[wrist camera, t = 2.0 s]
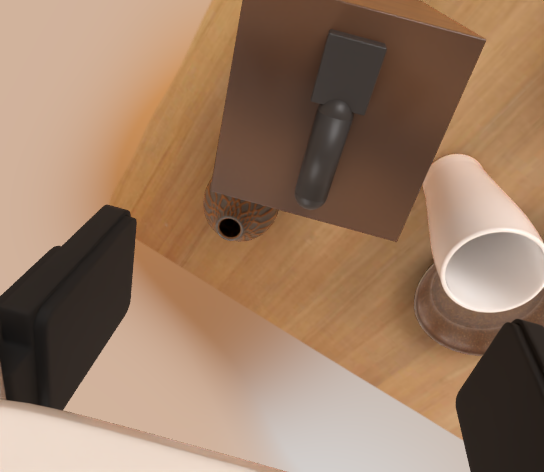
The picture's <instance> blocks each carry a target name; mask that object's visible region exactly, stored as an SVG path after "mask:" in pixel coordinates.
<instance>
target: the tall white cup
mask: <svg viewBox="0 0 544 472" xmlns="http://www.w3.org/2000/svg"><path fill="white" fill-rule="evenodd" d="M423 191H424V195H425V199H426V207H427V216H428V226H429V236H430V244H431V250H432V255H433V259H434V263H435V266H436V269H437V273H438V275H439V278H440V281H441V283H442V286H443V289H444V291H445V292H446V294H447V295H448V296H449V297H450V298H451V299H452V300H453V301H454V302H455V303H457V304H458V305H460V306H462V307H464V308H466V309H469V310H472V311H477V312H485V313H494V312H502V311H507V310H511V309H514V308H517V307H519V306H521V305H523V304H525V303H527V302H528V301H530V300H531V299H533V298H534V297H535V296H536V295H537V294H538V293H539V292H540V291H541V290H542V289H543V288H544V242H543V240H542V238H541V237H540V235H539V233H538V232H537V230H536V229H535V227H534V226H533V224H532V223H531V221H530V220H529V218H528V217H527V216H526V215H525V213H524V212H523V211H522V210H521V209H520V208H519V207H518V205H517V204H516V203H515V202H514V201H513V200H512V199H511V198H510V197H509V196H508V195H507V194H506V193H505V192H504V191H503V190H502V189H501V188H500V187H499V186H498V184H497V183H496V182H495V181H494V180H493V179H492V178H491V177H490V176H489V175H488V174H487V173H486V172H485V170H484V168H483V167H482V165H481V164H480V163H479V162H478V161H477V160H475V159H474V158H472V157H470V156H468V155H464V154H450V155H446V156H444V157H441V158H439V159H438V160H436V161H435V162H434V163H433V164H431V166H430V168H429V171H428V173H427V175H426V177H425V180H424V182H423Z"/></svg>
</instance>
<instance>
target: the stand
mask: <svg viewBox="0 0 544 472" xmlns="http://www.w3.org/2000/svg"><path fill="white" fill-rule="evenodd" d="M330 29H333V30H337V31H340V32H344V33H348V34H352V35H355V36H359V37H363V38H367V39H370V40H374V41H378V42H381V43H384V44H385V45H386V47H387V51H386V54H385V57H384V60H383V63H382V66H381V69H380V72H379V75H378V78H377V81H376V84H375V86H374V89H373V92H372V95H371V98H370V101H369V104H368V107H367V110H366V113H365V115H359V114H355V113H354V117H353V120H352V124H351V127H350V130H349V133H348V136H347V139H346V142H345V145H344V148H343V151H342V154H341V157H340V160H339V163H338V166H337V170H336V173H335V176H334V179H333V182H332V185H331V188H330V191H329V194H328V197H327V200H326V202H325V203H324V204H323V205H322V206H321V207H320V208H318V209H315V210H308V209H305V208H303V207H301V206H300V205H299V204H298V203H297V201H296V199H295V188H296V184H297V180H298V177H299V173H300V170H301V166H302V163H303V159H304V155H305V152H306V148H307V145H308V141H309V138H310V134H311V130H312V127H313V123H314V120H315V116H316V113H317V109H318V106H319V104H318V103H315V102H312V101H311V96H312V92H313V88H314V85H315V81H316V77H317V73H318V70H319V66H320V62H321V59H322V55H323V51H324V47H325V44H326V40H327V36H328V33H329V30H330ZM485 42H486V39H485V38H483V37H481V36H480V35H478V34H476V33H474V32H473V31H471V30H469V29H468V28H466V27H464V26H463V25H461V24H459V23H458V22H456V21H454V20H452V19H451V18H449V17H447V16H446V15H444V14H442V13H441V12H439V11H437V10H436V9H434V8H432V7H430V6H429V5H427V4H425V3H424V2H422V1H418V0H243V1H242V7H241V13H240V19H239V25H238V30H237V36H236V42H235V48H234V54H233V60H232V66H231V72H230V78H229V83H228V89H227V95H226V101H225V107H224V113H223V119H222V125H221V130H220V136H219V142H218V148H217V154H216V160H215V166H214V172H213V177H212V183H211V189H210V190H211V191H212V192H216V193H219V194H223V195H227V196H230V197H234V198H238V199H241V200H245V201H249V202H252V203H256V204H260V205H263V206H267V207H271V208H274V209H278V210H282V211H285V212H289V213H293V214H296V215H300V216H304V217H307V218H311V219H315V220H318V221H322V222H326V223H329V224H333V225H337V226H340V227H344V228H347V229H351V230H355V231H358V232H362V233H366V234H369V235H373V236H377V237H380V238H384V239H388V240H391V241H395V242H397V240H398V238H399V236H400V234H401V231H402V229H403V227H404V225H405V222H406V220H407V218H408V216H409V213H410V211H411V209H412V207H413V204H414V202H415V200H416V198H417V195H418V193H419V191H420V189H421V186H422V184H423V182H424V180H425V177H426V175H427V173H428V171H429V168H430V166H431V164H432V162H433V159H434V157H435V155H436V153H437V150H438V148H439V146H440V144H441V141H442V139H443V137H444V135H445V132H446V130H447V128H448V126H449V123H450V121H451V119H452V116H453V114H454V112H455V110H456V107H457V105H458V103H459V101H460V98H461V96H462V94H463V92H464V89H465V87H466V85H467V83H468V80H469V78H470V76H471V74H472V71H473V69H474V67H475V65H476V62H477V60H478V58H479V56H480V53H481V51H482V49H483V47H484V44H485Z"/></svg>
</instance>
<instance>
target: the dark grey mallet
mask: <svg viewBox="0 0 544 472" xmlns="http://www.w3.org/2000/svg"><path fill="white" fill-rule="evenodd" d="M386 51H387V47H386V45H385V44H384V43H381V42H378V41H374V40H370V39H367V38H363V37H359V36H355V35H352V34H348V33H344V32H340V31H337V30H333V29H330V30H329V33H328V36H327V40H326V44H325V47H324V51H323V55H322V59H321V62H320V66H319V70H318V73H317V77H316V81H315V85H314V88H313V92H312V96H311V101H312V102H315V103H318V104H319V106H318V109H317V113H316V116H315V120H314V123H313V127H312V130H311V134H310V138H309V141H308V145H307V148H306V152H305V155H304V159H303V163H302V166H301V170H300V173H299V177H298V180H297V184H296V188H295V199H296V201H297V203H298V204H299V205H300V206H301V207H303V208H305V209H308V210H315V209H318V208H320V207H321V206H322V205H323V204H324V203H325V202H326V200H327V197H328V194H329V191H330V188H331V185H332V182H333V179H334V176H335V173H336V170H337V166H338V163H339V160H340V157H341V154H342V151H343V148H344V145H345V142H346V139H347V136H348V133H349V130H350V127H351V124H352V120H353V117H354V113H355V114H359V115H365V113H366V110H367V107H368V104H369V101H370V98H371V95H372V92H373V89H374V86H375V84H376V81H377V78H378V75H379V72H380V69H381V66H382V63H383V60H384V57H385V54H386Z"/></svg>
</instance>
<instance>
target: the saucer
mask: <svg viewBox="0 0 544 472" xmlns="http://www.w3.org/2000/svg"><path fill="white" fill-rule="evenodd" d="M414 310H415V314H416V318H417V320H418V322H419V324H420V326H421V327H422V329H423V330H424V331H425V332H426V334H427V335H428V336H429V337H431V338H432V339H433V340H434V341H436V342H437V343H439V344H440V345H442V346H444V347H446V348H448V349H451V350H453V351H456V352H460V353H463V354H468V355H475V356H483V355H484V353H485V352H486V350H487V349H488V347H489V346H490V344H491V343H492V341H493V340H494V338H495V336H496V335H497V333H498V332H499V330H500V329H501V327H502V326H503V325H504V324H505V323H506V322H510V323H511V322H512V321H513V320H515V319H521V320H525V321H529V322H532V323H536V324H539V325H542V326H543V327H544V288H543V289H542V290H541V291H540V292H539V293H538V294H537V295H536V296H535V297H534V298H533V299H531V300H530V301H528V302H527V303H525V304H523V305H521V306H519V307H517V308H514V309H511V310H507V311H502V312H494V313H485V312H477V311H472V310H469V309H466V308H464V307H462V306H460V305H458V304H457V303H455V302H454V301H453V300H452V299H451V298H450V297H449V296H448V295H447V294H446V292H445V291H444V289H443V286H442V283H441V281H440V278H439V275H438V273H437V269H436V266H435V263H433V264H432V265H431V266H430V268H429V269H428V270H427V271H426V272H425V274H424V275H423V277H422V278H421V280H420V282H419V284H418V286H417V289H416V293H415V298H414Z"/></svg>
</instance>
